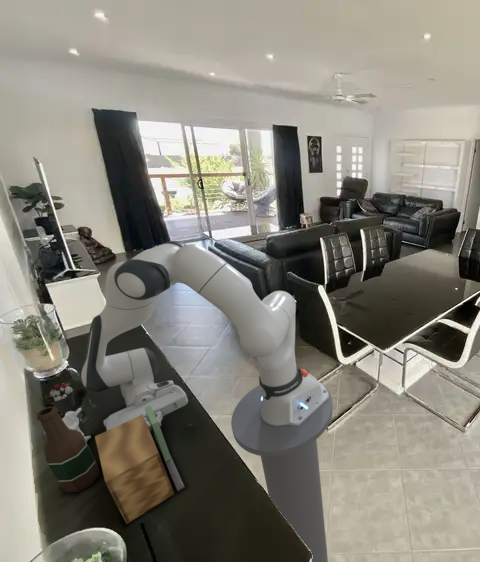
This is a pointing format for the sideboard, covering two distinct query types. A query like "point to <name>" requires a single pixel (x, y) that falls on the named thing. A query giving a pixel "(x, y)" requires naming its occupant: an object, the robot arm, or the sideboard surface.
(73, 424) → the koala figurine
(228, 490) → the sideboard surface
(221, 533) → the sideboard surface
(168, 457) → the sliding door
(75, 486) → the beer bottle
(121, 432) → the cupboard
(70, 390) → the sundae
